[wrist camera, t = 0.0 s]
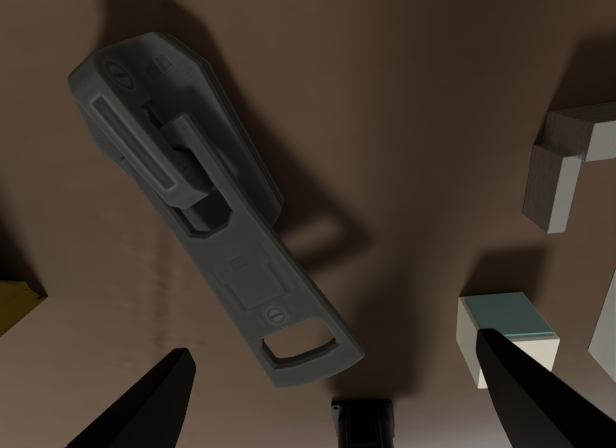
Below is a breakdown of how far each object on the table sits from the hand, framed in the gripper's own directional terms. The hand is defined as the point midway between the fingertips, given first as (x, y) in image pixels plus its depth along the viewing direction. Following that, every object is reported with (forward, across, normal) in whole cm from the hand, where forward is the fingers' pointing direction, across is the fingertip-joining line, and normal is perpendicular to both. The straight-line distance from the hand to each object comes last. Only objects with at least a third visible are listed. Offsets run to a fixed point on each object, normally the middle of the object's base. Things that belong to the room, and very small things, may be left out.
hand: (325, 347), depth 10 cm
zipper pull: (+15, +7, +1) cm, 17 cm away
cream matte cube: (+15, -12, +14) cm, 24 cm away
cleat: (+15, -17, +1) cm, 23 cm away
